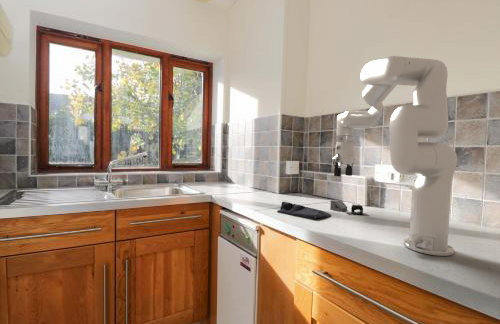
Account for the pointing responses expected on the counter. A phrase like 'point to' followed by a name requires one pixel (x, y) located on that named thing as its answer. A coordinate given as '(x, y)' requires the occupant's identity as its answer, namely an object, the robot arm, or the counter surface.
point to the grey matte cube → (338, 205)
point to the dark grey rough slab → (302, 211)
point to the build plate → (356, 207)
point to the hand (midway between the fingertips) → (343, 175)
